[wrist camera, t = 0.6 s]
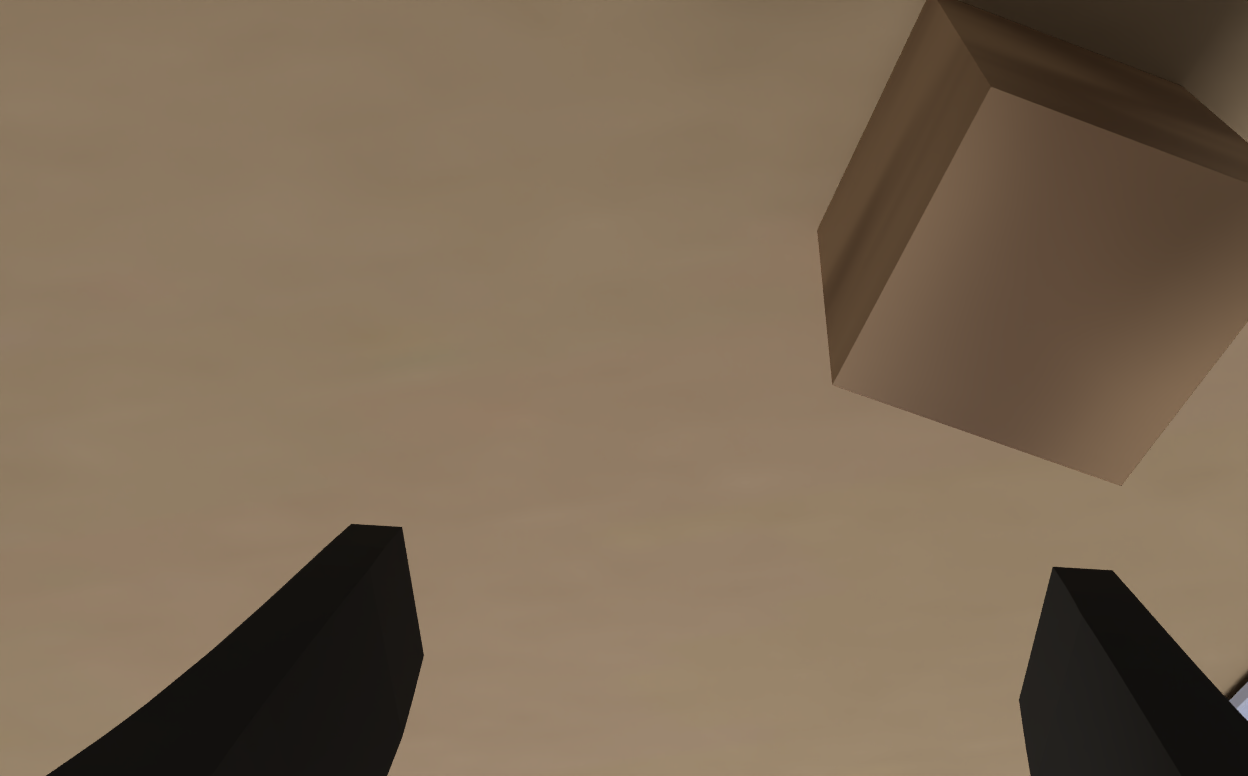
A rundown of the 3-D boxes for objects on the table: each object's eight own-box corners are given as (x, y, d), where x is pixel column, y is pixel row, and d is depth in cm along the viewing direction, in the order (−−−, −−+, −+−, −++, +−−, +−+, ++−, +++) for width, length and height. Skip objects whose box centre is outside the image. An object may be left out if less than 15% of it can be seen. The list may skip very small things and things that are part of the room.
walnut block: (1180, 85, 17) (1329, 213, 13) (1039, 308, 20) (1121, 486, 15) (930, -11, 17) (990, 86, 12) (816, 228, 20) (832, 385, 15)
